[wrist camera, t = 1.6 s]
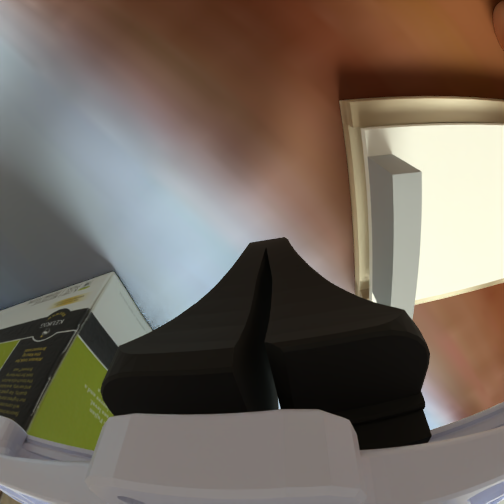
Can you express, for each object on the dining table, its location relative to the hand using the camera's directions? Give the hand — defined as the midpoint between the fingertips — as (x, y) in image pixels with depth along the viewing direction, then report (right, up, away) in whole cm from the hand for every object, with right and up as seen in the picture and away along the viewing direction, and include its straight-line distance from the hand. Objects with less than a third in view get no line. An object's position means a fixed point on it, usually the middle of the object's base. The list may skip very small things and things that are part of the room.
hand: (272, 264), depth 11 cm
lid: (+9, +2, +1) cm, 9 cm away
